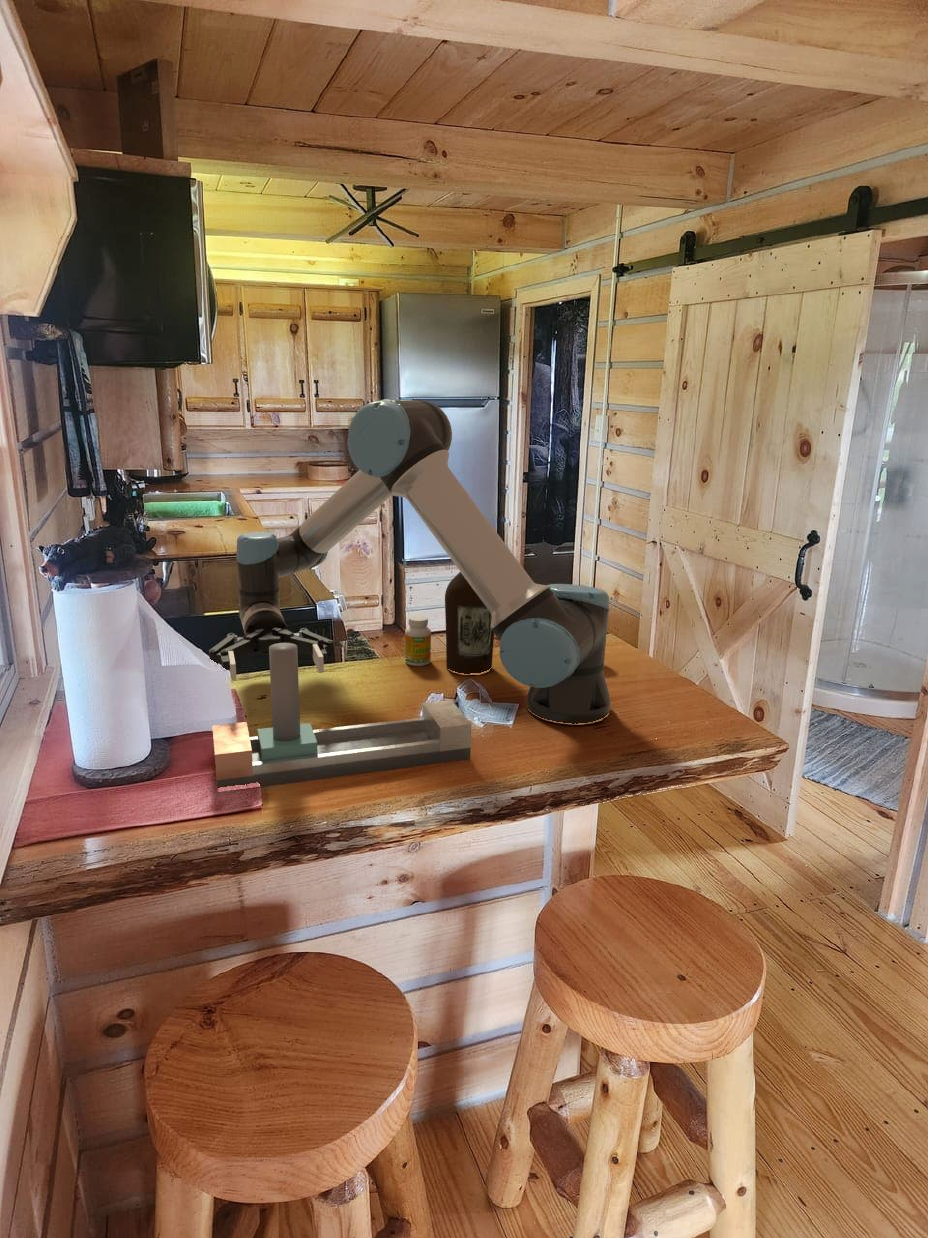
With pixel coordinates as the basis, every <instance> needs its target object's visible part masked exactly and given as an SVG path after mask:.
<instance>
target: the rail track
mask: <svg viewBox="0 0 928 1238" xmlns="http://www.w3.org/2000/svg"><path fill="white" fill-rule="evenodd" d="M421 706H422V707H421V708H422V709H421V710H422V717H415V718H406V719H399V720H391V721H390V720H389V721H379V722H372V723H362V724H352V725H346V726H336V727H328V728H320V729H319V728H318V729H313V732H314V735H315V737H316V740H317V749H318V754H316V755H308V756H300V757H292V758H284V759H276V760H267V761H261V758H260V753H259V748H258V735H256V736H250V732H249V728H248V723H247V721H243V722H235V723H233V722H232V723H225V724H216V725H212V726H211V727H212V738H213V739H212V740H213V751H214V753H213V754H214V764H215V766H216V767H215V766H214V767H215V775H216V777H215V778H217V779H216V788H220V787H227V786H235V785H245V784H246V785H247V784H250V783H256V782H258V783H259V784H260V786H261V787H260V788H264V787H271V786H272V787H274V786H280V785H286V784H287V785H288V784H295V783H302V782H310V781H318V780H324V779H325V780H326V779H331V778H340V777H346V776H355V775H356V776H357V775H361V774H362V775H363V774H369V773H378V772H384V771H392V770H399V769H407V768H413V767H414V768H415V767H421V766H423V767H424V766H430V765H437V764H443V763H453V762H460V761H466V760H468V761H469V760H471V751H472V750H471V748H472V745H471V744H472V742H471V741H472V723H471V722H470V721H469V720H468V718H467V717H466V716H465V715H464V713H463V712H462V710H461V709H459V707H458V706H457V704H456V703H455V702H454V701H453V700H452V699H447V700H439V701H429V702H423V703H422V705H421Z"/></svg>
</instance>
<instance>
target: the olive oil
mask: <svg viewBox="0 0 928 1238" xmlns="http://www.w3.org/2000/svg"><path fill="white" fill-rule="evenodd" d="M444 610H445V611H444V612H445V613H444V616H445V658H446V660H445V661H446V663H445V664H446V666H447V667H446V669H447V668H448V669H450V670H452V671H455V672H458V673H464V674H470V673H481V672H484V671H487V670H489V669H490V668H491V667H493V656H494V655H493V652H494V642H495V640H494V639H495V634H494V633H493V631H492V630H491V620H492V615H491V613H490V611H489V610H488V609H487V607H486V606H485V605H484V603H483V602H482V600H481V599H480V598H479V596H478V595H477V594H476V592H475V591H474V590H473V588H472V587H471V586H470V584H469V583H468V581H467V580H466V579H465V577H464V576H463V575H462V573H461V572H460V571H459V572H458V573H457V574H456V575H455V576H454V577H453V578H452V579H451V580H450V581H449V583H448V584H447V587H446V589H445V592H444ZM448 669H447V670H448Z"/></svg>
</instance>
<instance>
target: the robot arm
mask: <svg viewBox="0 0 928 1238" xmlns="http://www.w3.org/2000/svg"><path fill="white" fill-rule="evenodd" d="M452 431H453V430H452V425H451V423H450V420H449V418H448V416H447V414H446V413H445V412H444V410H443V409H441V408H440V407H439V406H438V405H437V404H434V402H430V401H428V400H424V399H405V400H401V399H400V400H394V399H393V400H392V399H389V398H388V399H387V398H386V399H380V400H377V401H372V402H369V403H367V404H365V405H363V406H362V407H361V408H360V409H358V411H357V412H356V413H355V414H354V416H353V417H352V419H351V422H350V423H349V427H348V431H347V432H348V437H347V439H346V440H347V449H348V452H349V456H350V459H351V460H352V462H353V464H354V465H355V467H356V468H357V469H358V470H357V471H356V473H354V474H353V475H352V476H351V477H350V478H349V479H348V480H347V481H346V482H345V483H343V484H342V485H341V487H339V488H338V489H337V490H336V491H335V492H334V493H333V494H331V496H330V497H329V498H328V499H326V500H325V501H324V502H323V503H322V504H321V505H320V506H319V507H318V508H317V509H316V510H315V511H313V513H312V514H310V515H309V516H308V518H306V519H305V520H304V521H303V522H302V523H301V524H300V525H299V526H298V527H296V528H295V529H294V530H293V531H292V532H291V533H290V534H288V535H286V536H282V537H277V536H276V535H275V534H274V533H272V532H267V531H253V532H245V533H242V534H239V536H238V537H237V539H236V556H235V560H236V565H237V567H236V568H237V581H238V582H237V583H238V601H239V602H238V603H239V605H238V608H237V609H238V617H239V619H240V622H241V625H242V629H243V633H244V635H243V636H239V637H238V635H236V634H235V633H233V632H230V633H227V635H226V637H225V638H224V639H222V640H221V641H220V642H218V643H217V644H216V645H214V646H213V647H212V648H210V649H209V650H208V655H209V660H210V659H211V660H213V661H214V662H216V663H217V665H219V664H221V668H222V667H223V668H225V669H226V670H225V671H229V673H230V679H231V681H232V682H234V681H237V666H236V665H237V664H236V662H239V661H240V660H242V659H244V658H247V657H249V656H250V657H251V656H252V657H254V656H256V655H258V654H260V655H264V656H265V655H269V647H270V646H271V645H273V644H277V643H292V644H295V645H297V654H302V655H306V656H310V657H312V660H313V663H314V664H315V667H316V669H317V671H318V673H323V674H324V673H325V667H324V666H325V665H324V662H327V661H328V657H332V656H334V641H333V640H332V639H329V638H327V637H324V636H322V635H319V634H317V633H314V632H312V631H310V630H309V629H308V628H306V627H302V628H300V629H299V631H298V632H296V633H294V632H292V631H291V630H289V629H288V626H287V624H286V622H285V618H284V616H283V614H282V612H281V605H280V581H279V580H280V579H281V578H283V577H287V576H289V575H293V574H296V573H299V572H302V571H306V570H311V569H314V568H315V567H317V566H319V565H321V564H322V563H324V561H325V560H326V559H327V556H328V553H329V551H330V550H331V549H332V548H333V547H335V545H337V544H338V543H340V542H341V540H342V539H344V538H345V537H346V536H347V535H348V534H349V533H350V532H352V531H353V530H354V529H355V528H357V526H359V525H360V524H361V523H362V522H364V521H365V519H366V518H368V517H369V516H370V515H371V514H372V513H374V511H376V510H377V509H378V508H380V506H382V505H383V504H384V503H385V502H386V501H387V500H388V499H390V498H391V497H392V496H394V497H400V498H404V499H406V500H407V501H408V502H409V504H410V505H411V506H412V508H413V509H414V511H415V512H416V514H418V516H419V518H420V519H421V521H422V522H423V523H424V524H425V525H426V527H427V528H428V530H429V532H430V533H431V534H432V535H433V536H434V537H435V540H436V541H437V542H438V543H439V545H440V546H441V548H442V549H443V550H444V551H445V553H446V554H447V556H448V557H449V558H450V560H451V561H452V563H453V564H454V566H455V567H456V568H457V570H459V572H461V573H462V575H463V576H464V577H465V579H466V580H467V581H468V583H469V584H470V586H471V587H472V588H473V590H474V591H475V592H476V594H477V595H478V596H479V598H480V599H481V600H482V602H483V603H484V605H485V606H486V607H487V609H488V610H489V611H490V613H491V615H492V620H491V630H492V631H493V633H494V636H495V637H496V638H497V640H498V641H499V645H498V646H499V655H498V656H499V659H500V662H501V665H502V667H503V668H504V669H505V671H506V672H507V673H508V675H509V676H510V677H512V678H513V679H514V680H515V681H517V682H518V683H520V684H522V685H524V686H527V687H529V689H528V692H527V694H526V705H527V706H526V709H527V708H528V709H529V710H530V711H531V712H532V713H534V714H535V715H537V716H539V717H541V718H544V719H547V720H552V721H556V722H563V723H572V724H575V723H576V724H578V723H588V722H593V721H596V720H599V719H601V718H604V717H605V716H606V715H607V714H608V713H609V711H610V712H611V704H612V703H611V697H610V693H609V689H608V685H607V682H606V677H605V673H604V667H605V657H606V645H607V644H606V643H607V636H608V635H607V631H608V623H609V622H608V621H609V612H610V597H609V594H608V592H606V591H605V590H603V589H601V588H597V587H592V586H586V585H579V584H570V583H551V584H547V585H546V584H539V583H535V582H534V581H533V579H532V578H531V577H530V576H529V574H528V572H527V571H526V570H525V569H524V567H523V566H522V565H521V563H520V562H519V560H518V559H517V557H516V556H515V555H514V554H513V552H512V551H511V550H510V549H509V547H508V546H507V544H506V543H505V542H504V541H503V538H501V536H500V535H499V534H498V532H497V531H496V530H495V528H494V527H493V526H492V523H490V522H489V519H487V517H486V516H485V515H484V513H483V512H482V510H481V509H480V508H479V507H478V506H477V504H476V503H475V501H474V500H473V499H472V497H471V496H470V495H469V493H468V492H467V490H466V489H465V487H463V485H462V483H461V482H460V481H459V480H458V479H457V476H455V474H454V473H453V472H452V470H451V469H450V468H449V463H448V462H449V458H450V452H449V450H450V448H451V444H452V440H453V432H452Z"/></svg>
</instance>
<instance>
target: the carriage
mask: <svg viewBox="0 0 928 1238" xmlns="http://www.w3.org/2000/svg"><path fill="white" fill-rule="evenodd" d="M298 654H299V653H297V645H295V644H292V643H277V644H273V645H271V646H270V647H269V654H268V656H269V677H270V679H269V680H270V698H271V699H270V700H271V719H272V721H271V722H272V727H265V728H263V727H262V728H257V729H256V731H257V736H258V748H259V753H260V758H261V761H267V760H276V759H284V758H292V757H300V756H308V755H316V754H318V749H317V740H316V737H315V735H314V732H313V730H314V729H313V726H312V724H311V722H310V723H309V722H307V723H302V724H301V718H300V717H301V714H300V713H301V711H300V687H299V686H300V685H299V663H298V662H299V660H298V658H299V657H298Z"/></svg>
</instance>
